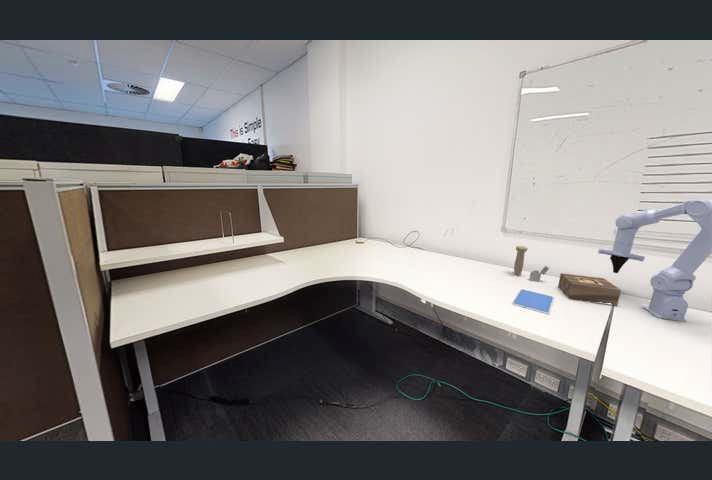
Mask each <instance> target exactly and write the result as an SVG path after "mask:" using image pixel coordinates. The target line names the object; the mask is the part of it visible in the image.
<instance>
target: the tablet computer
mask: <svg viewBox="0 0 712 480" xmlns="http://www.w3.org/2000/svg"><path fill="white" fill-rule="evenodd" d="M554 300H555V297H554V296H551V295H548V294H543V293H540V292H537V291H536V292H535V291H531V290H526V289H520V290H519V291H518V293H516V296H515V298H514V299H513V300H512V302H511V305H513V306H517V307H519V308H524V309H527V310H531V311H532V312H533V311H534V312H537V313H541V314H543V315H544V314H545V315H550V314H551V309H552V307H553V303H554Z"/></svg>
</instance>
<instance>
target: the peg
mask: <svg viewBox="0 0 712 480" xmlns="http://www.w3.org/2000/svg"><path fill="white" fill-rule="evenodd" d="M582 281H583V282H587V283H595V282H594V281H591V280H586V279H583V280H582Z"/></svg>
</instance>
